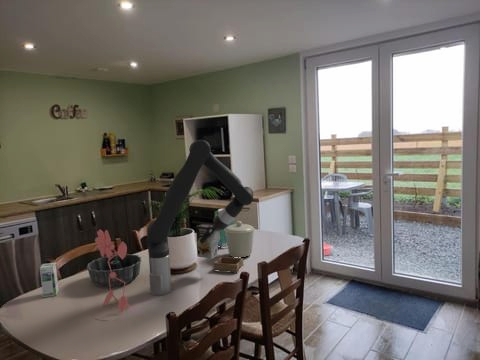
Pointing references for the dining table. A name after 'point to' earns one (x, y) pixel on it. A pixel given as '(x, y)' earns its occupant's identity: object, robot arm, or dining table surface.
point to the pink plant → (105, 248)
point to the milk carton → (221, 233)
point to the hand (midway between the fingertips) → (204, 239)
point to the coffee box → (206, 242)
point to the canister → (239, 239)
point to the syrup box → (49, 279)
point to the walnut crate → (228, 264)
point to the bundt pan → (114, 270)
